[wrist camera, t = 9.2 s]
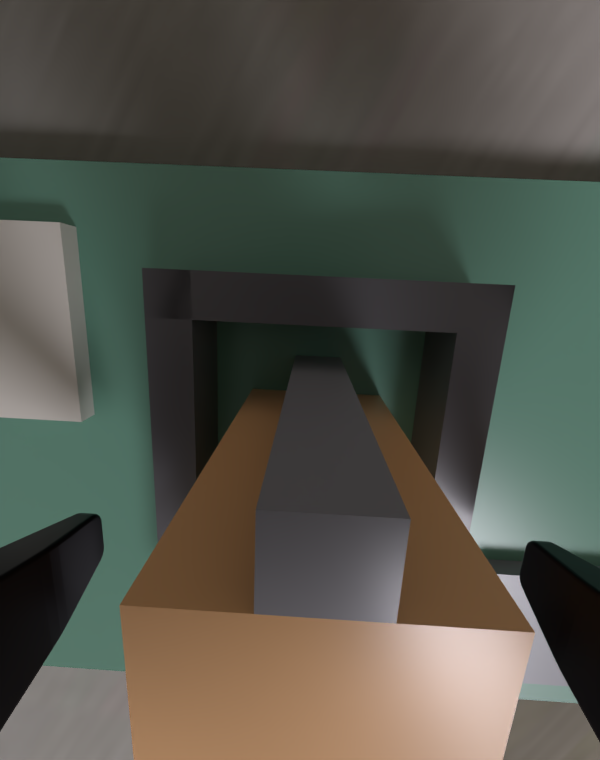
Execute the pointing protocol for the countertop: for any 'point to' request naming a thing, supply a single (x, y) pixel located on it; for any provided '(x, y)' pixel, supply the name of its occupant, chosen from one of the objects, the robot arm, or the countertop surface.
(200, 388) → the board
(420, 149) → the countertop surface
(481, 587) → the keyed plug
